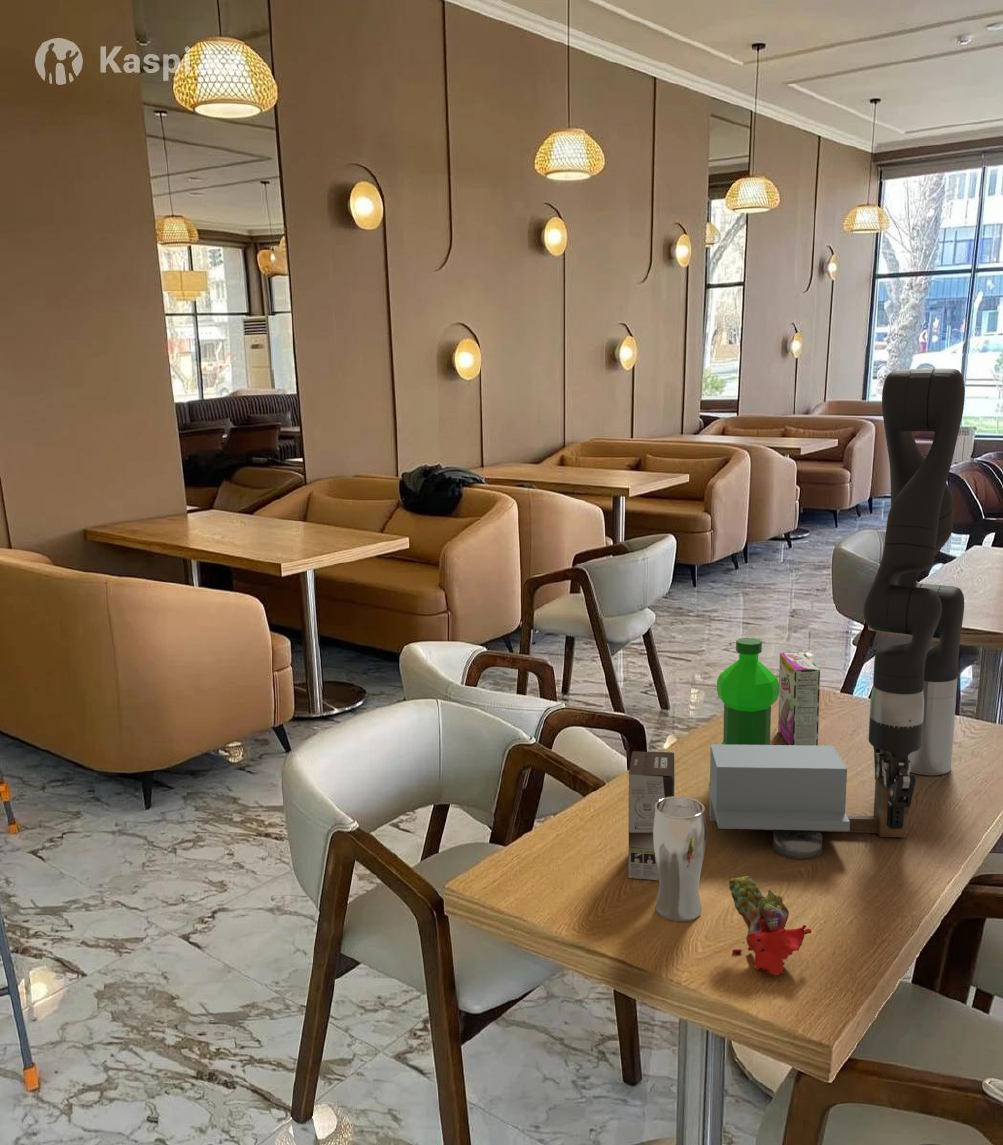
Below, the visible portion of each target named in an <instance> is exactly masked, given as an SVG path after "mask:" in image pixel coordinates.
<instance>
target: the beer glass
mask: <svg viewBox="0 0 1003 1145" xmlns="http://www.w3.org/2000/svg"><path fill="white" fill-rule="evenodd" d="M654 807H655V809H654V820H653V848H654V855H655V861H656V866H657V871H658V878H659V880H658V891H657V897H656V901H655V910H656V913H657V914H659V916H661V917H662V918H664V919H665V920H668V921H672V922H676V923H677V922H678V923H679V922H680V923H684V922H685V923H686V922H691V921H694V920H696V919H697V918H699V917H700V916H701V913H702V911H703V910H702V908H703V907H702V902H701V898H700V879H701V874H702V870H703V869H702V868H703V863H704V859H705V855H706V854H705V853H706V846H707V826H706V811H705V810H706V808H705V805H704V804H703V803H702V802H701V801H699V800H697V799H696V798H692V797H687V796H682V795H681V796H680V795H674V796H671V797H665V798H662V799H660V800H658V801H657V802H656V803H655V806H654Z"/></svg>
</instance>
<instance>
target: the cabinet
mask: <svg viewBox="0 0 1003 1145" xmlns="http://www.w3.org/2000/svg"><path fill="white" fill-rule="evenodd" d="M709 748H710V755H709V762H710V763H709V815H708V816H709V821H710V822H716V826H717V828H718V829H725V830H726V829H727V830H729V829H730V830H732V829H735V830H737V829H738V830H761V829H771V830H770V831H774V830H823V831H822V832H826V831H850V821H849V819H848V817H847V815H848V814H847V813H846V800H847V779H848V768H847V766H846V765H845V762H844V761H843V759H842V758H841V756H840V755H839V753H838V751H837V750H836V748H835V746H834V745H818V746H815V745H788V744H784V745H783V744H776V745H775V744H770V745H722V743H721V744H719V743H718V744H714V743H713V744H710V747H709Z"/></svg>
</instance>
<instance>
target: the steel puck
mask: <svg viewBox="0 0 1003 1145" xmlns="http://www.w3.org/2000/svg"><path fill="white" fill-rule="evenodd" d="M822 835H823V834H821V831H817V830H773V840H772V841H773V843H772V848H773V851H775V853H777V854H778V855H780V856H781V857H784V858H787V859H790V860H797V861H810V860H814V859H817V858H818V857H820V856H821V854H822V852H823V851H822V850H823V849H822V848H823V836H822Z"/></svg>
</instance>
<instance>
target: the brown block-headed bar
mask: <svg viewBox="0 0 1003 1145" xmlns="http://www.w3.org/2000/svg"><path fill="white" fill-rule="evenodd" d="M874 781H875V782H874V797H873V798H874V800H873V815H857V814H855V815H849V814H846V815H847V817H848V819H849V821H850V831H825V832H827V833H828V832H830V833H831V832H833V833H836V832H837V833H841V832H842V833H877V834H878V836H879V837H880V838H908V832H909V831H908V830H909V814H910V811H909V810H910V808H904V819H903V827H902V828H901V829H890V828H889V827H888V826H887V813H888V803H887V801H888V790H886V789H885V788H884V778H878V777H876V779H875V778H874ZM890 785H895V782H890ZM899 798H901V797H899ZM760 830H761V831H772V830H771V829H760ZM817 831H819V832H824V831H823V830H817Z"/></svg>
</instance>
